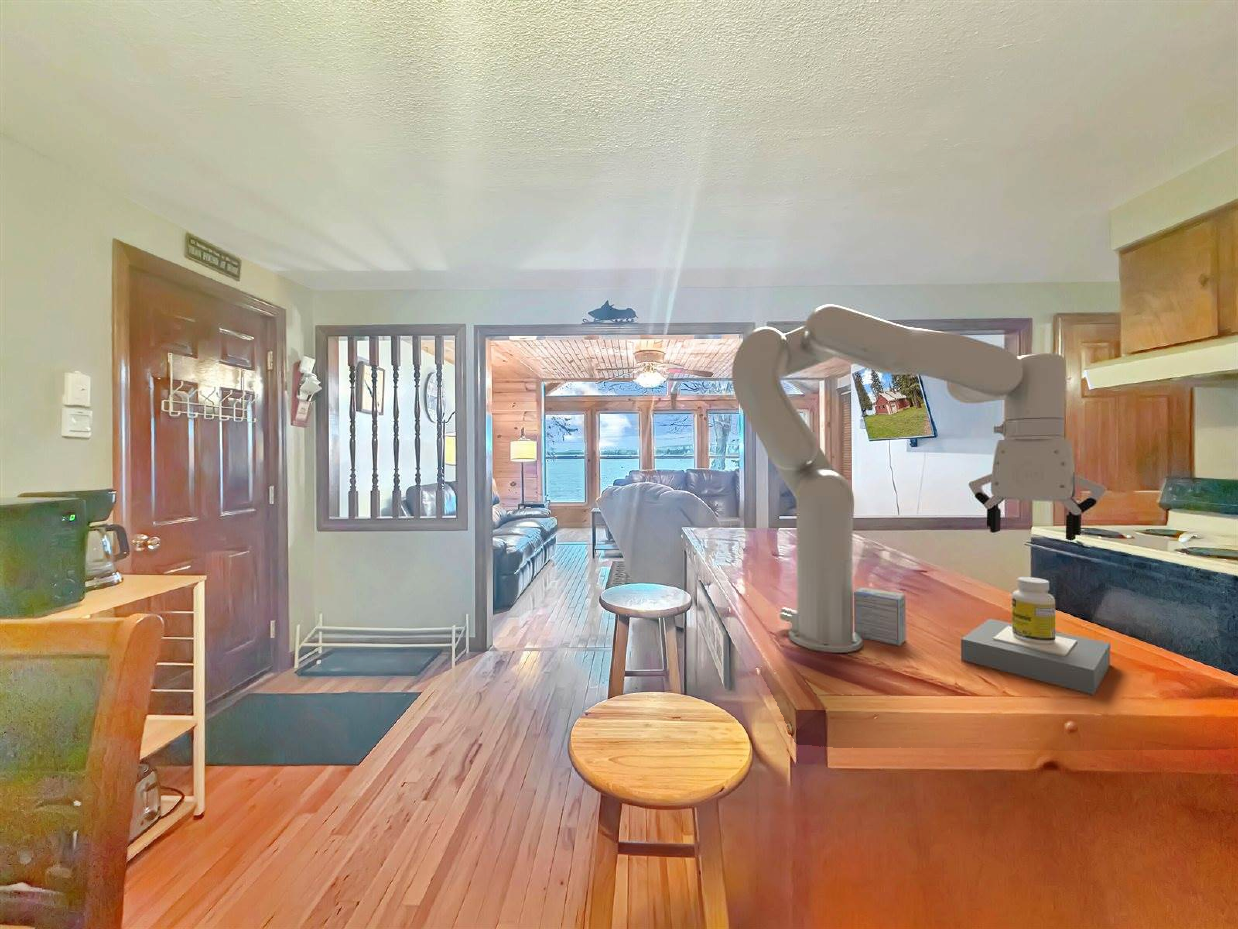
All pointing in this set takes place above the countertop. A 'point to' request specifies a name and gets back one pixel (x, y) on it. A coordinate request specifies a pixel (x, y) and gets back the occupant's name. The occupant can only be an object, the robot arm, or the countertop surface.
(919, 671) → the countertop surface
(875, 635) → the medicine box
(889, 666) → the countertop surface
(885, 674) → the countertop surface
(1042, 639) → the supplement bottle
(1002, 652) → the plate
